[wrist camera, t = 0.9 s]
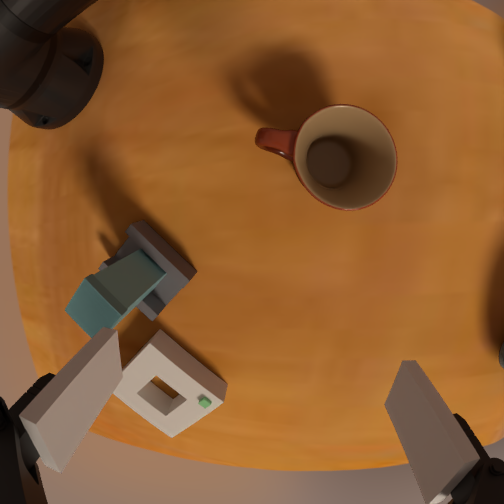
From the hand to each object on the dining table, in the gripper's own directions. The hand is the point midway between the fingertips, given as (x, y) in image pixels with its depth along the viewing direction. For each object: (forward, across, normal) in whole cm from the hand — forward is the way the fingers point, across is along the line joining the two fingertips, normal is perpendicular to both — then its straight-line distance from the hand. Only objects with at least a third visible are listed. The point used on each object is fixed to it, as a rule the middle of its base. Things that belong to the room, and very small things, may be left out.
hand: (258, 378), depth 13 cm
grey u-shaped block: (+23, -13, -3) cm, 27 cm away
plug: (+23, -13, -3) cm, 27 cm away
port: (+23, -11, -20) cm, 33 cm away
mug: (+24, +4, +11) cm, 26 cm away
